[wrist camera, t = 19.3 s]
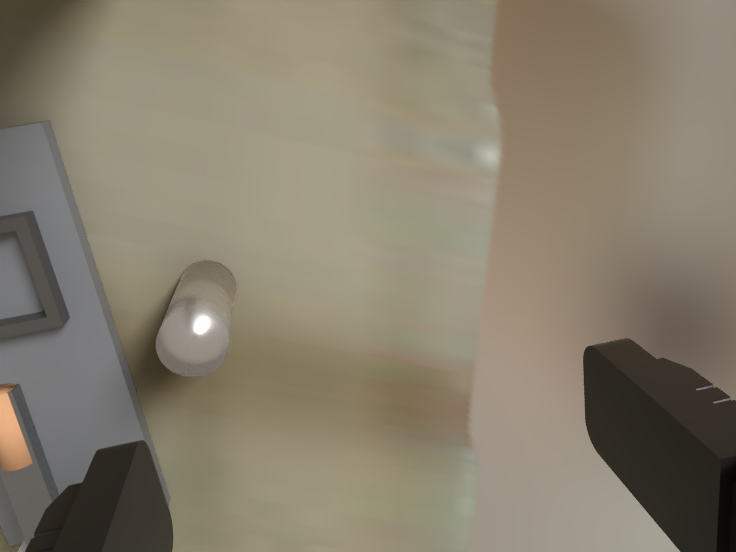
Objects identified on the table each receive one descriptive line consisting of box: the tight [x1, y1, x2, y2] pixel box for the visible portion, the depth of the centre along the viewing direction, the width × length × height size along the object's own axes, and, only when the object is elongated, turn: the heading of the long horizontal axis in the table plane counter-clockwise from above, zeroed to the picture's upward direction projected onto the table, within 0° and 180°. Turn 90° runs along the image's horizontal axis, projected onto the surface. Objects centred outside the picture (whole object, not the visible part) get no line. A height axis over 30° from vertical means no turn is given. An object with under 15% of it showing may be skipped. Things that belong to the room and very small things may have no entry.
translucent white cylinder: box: [156, 261, 236, 377], centre depth 41 cm, size 4×4×10 cm
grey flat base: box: [0, 121, 170, 552], centre depth 41 cm, size 30×12×8 cm, turn 9°
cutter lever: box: [0, 383, 59, 546], centre depth 41 cm, size 17×2×2 cm, turn 8°
